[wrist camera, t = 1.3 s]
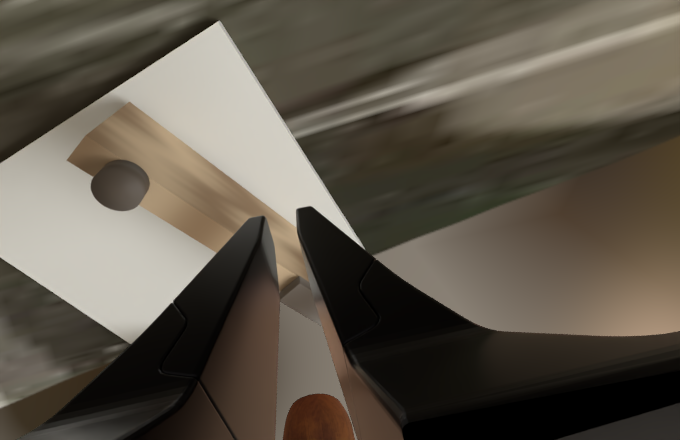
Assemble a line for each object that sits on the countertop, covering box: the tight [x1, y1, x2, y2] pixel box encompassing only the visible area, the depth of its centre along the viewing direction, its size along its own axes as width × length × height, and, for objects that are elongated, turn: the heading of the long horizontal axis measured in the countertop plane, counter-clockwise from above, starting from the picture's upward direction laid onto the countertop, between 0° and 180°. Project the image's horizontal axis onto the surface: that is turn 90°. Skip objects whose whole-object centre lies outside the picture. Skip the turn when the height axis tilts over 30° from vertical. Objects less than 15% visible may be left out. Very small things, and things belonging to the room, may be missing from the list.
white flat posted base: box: [0, 21, 365, 344], centre depth 21 cm, size 19×17×7 cm
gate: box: [66, 102, 322, 326], centre depth 19 cm, size 14×2×6 cm, turn 42°
